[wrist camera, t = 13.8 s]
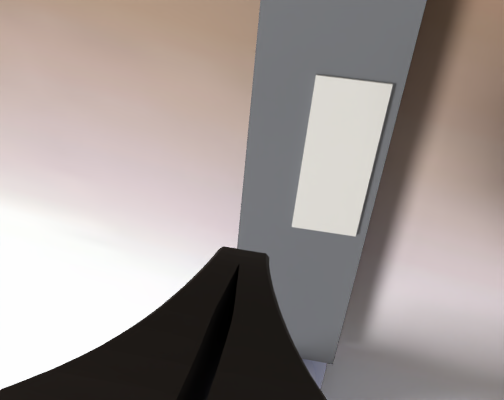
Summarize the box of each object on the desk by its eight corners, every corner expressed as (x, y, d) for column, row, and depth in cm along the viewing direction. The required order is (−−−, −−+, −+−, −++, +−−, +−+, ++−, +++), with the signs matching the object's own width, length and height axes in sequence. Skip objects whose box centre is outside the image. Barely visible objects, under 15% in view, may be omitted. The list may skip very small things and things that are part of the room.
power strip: (331, 337, 25) (333, 368, 23) (233, 321, 26) (227, 350, 24) (457, -177, 14) (482, -205, 12) (284, -190, 15) (280, -220, 13)
